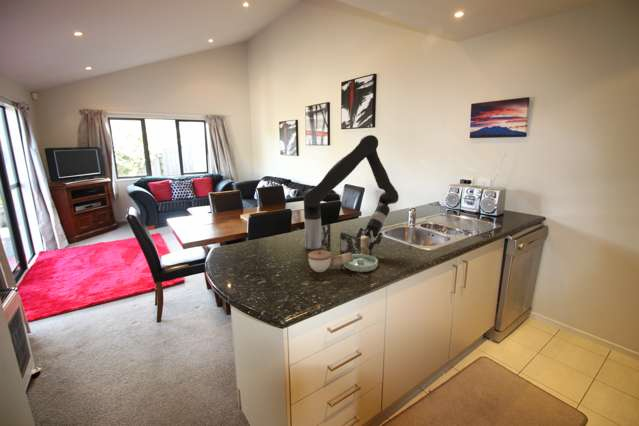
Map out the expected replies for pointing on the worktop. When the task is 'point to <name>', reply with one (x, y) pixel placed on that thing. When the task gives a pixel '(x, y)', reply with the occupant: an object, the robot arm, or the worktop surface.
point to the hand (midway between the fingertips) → (363, 247)
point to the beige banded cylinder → (341, 259)
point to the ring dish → (362, 263)
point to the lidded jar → (319, 260)
